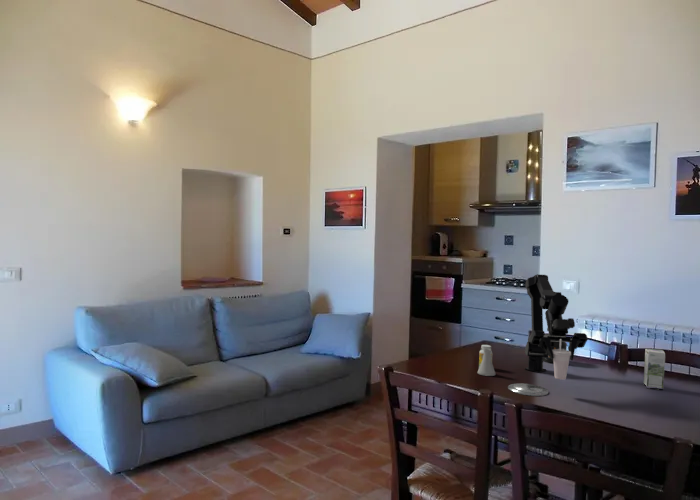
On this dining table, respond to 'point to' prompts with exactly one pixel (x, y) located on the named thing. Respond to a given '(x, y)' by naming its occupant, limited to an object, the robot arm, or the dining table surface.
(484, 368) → the flask
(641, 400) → the dining table surface
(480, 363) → the supplement bottle
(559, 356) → the smoothie
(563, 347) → the supplement container
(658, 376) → the syrup box
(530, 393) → the grey stepped round plate
